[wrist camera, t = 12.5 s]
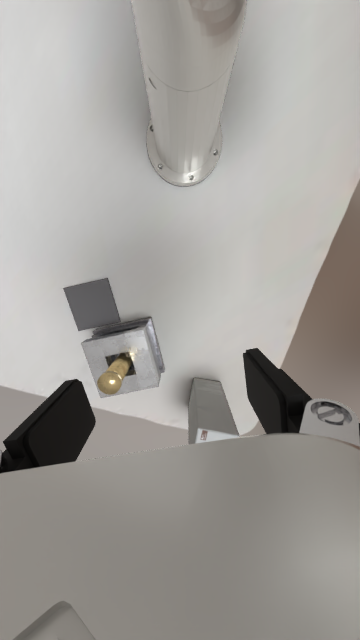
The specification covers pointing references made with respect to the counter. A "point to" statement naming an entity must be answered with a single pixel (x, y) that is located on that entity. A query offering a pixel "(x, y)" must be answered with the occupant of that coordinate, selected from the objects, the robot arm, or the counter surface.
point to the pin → (115, 374)
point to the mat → (92, 304)
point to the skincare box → (209, 413)
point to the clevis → (125, 339)
